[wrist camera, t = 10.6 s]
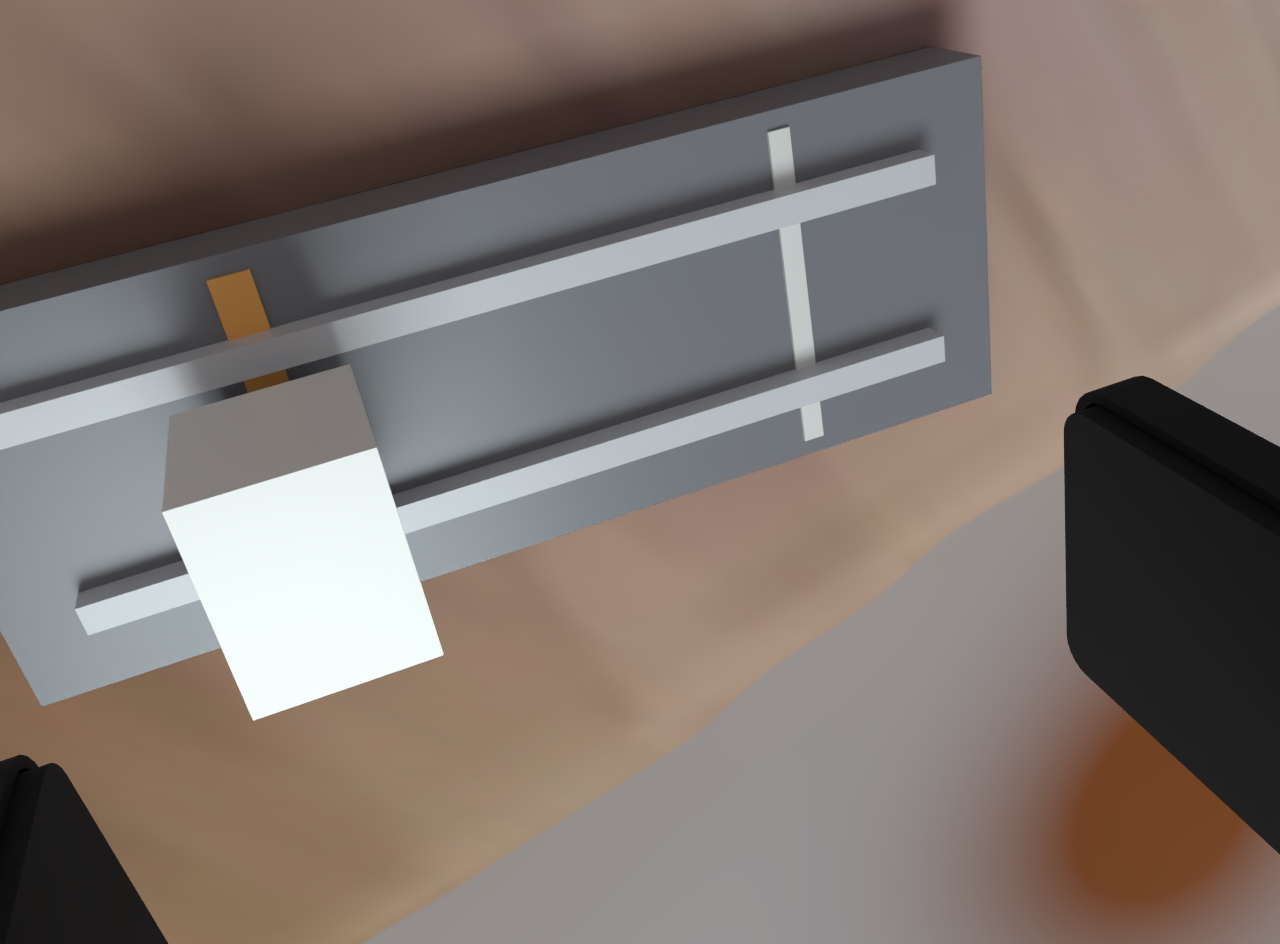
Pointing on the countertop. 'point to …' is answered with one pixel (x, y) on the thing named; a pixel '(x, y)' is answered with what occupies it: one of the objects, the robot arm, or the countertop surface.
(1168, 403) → the robot arm
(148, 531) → the fader console
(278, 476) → the cap
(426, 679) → the countertop surface
